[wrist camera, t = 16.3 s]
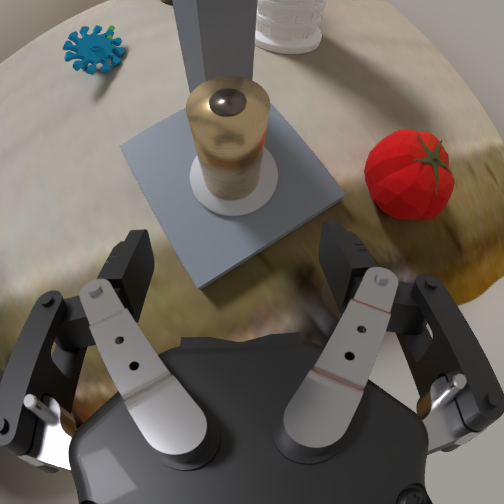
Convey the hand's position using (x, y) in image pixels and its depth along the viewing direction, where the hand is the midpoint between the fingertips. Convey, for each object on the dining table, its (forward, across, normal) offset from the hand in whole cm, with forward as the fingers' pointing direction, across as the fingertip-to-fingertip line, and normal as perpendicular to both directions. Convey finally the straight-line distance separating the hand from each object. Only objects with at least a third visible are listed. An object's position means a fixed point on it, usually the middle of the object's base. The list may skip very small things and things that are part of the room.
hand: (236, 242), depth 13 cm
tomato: (+15, +18, -3) cm, 24 cm away
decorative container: (+34, +8, +15) cm, 38 cm away
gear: (+32, -20, +13) cm, 40 cm away
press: (+18, +3, -1) cm, 18 cm away
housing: (+14, 0, -2) cm, 14 cm away
